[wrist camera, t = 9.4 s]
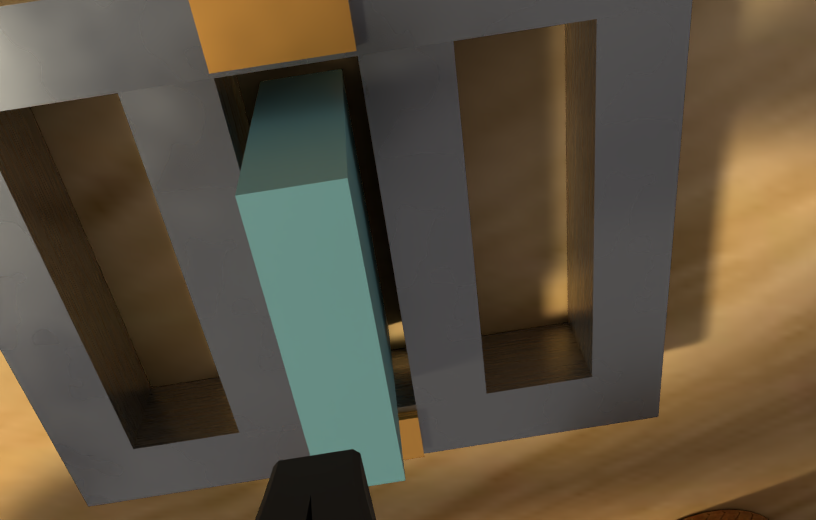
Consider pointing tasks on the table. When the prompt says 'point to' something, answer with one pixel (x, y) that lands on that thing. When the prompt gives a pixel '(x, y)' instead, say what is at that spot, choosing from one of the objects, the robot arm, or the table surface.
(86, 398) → the rack
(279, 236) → the panel
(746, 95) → the table surface
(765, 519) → the disposable coffee cup
